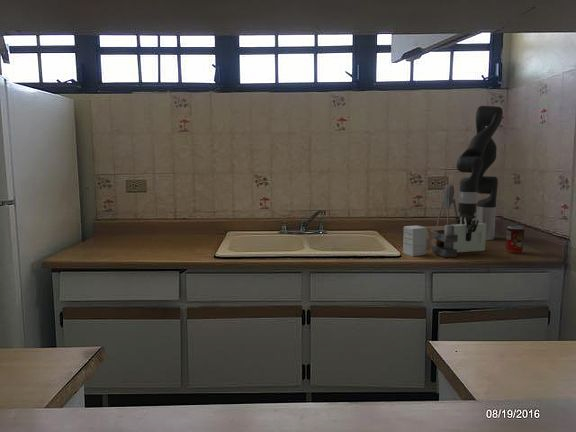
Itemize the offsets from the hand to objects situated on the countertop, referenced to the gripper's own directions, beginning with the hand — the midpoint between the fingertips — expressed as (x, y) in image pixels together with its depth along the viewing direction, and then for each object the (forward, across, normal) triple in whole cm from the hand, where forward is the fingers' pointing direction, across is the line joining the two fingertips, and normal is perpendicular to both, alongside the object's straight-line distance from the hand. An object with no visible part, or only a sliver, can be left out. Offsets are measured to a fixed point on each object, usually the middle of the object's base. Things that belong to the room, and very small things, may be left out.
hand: (465, 240), depth 199 cm
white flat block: (+5, 0, 0) cm, 5 cm away
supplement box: (+7, +8, +21) cm, 23 cm away
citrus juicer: (+7, +26, -7) cm, 28 cm away
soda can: (+7, -2, -25) cm, 26 cm away
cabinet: (+7, +7, +1) cm, 10 cm away
